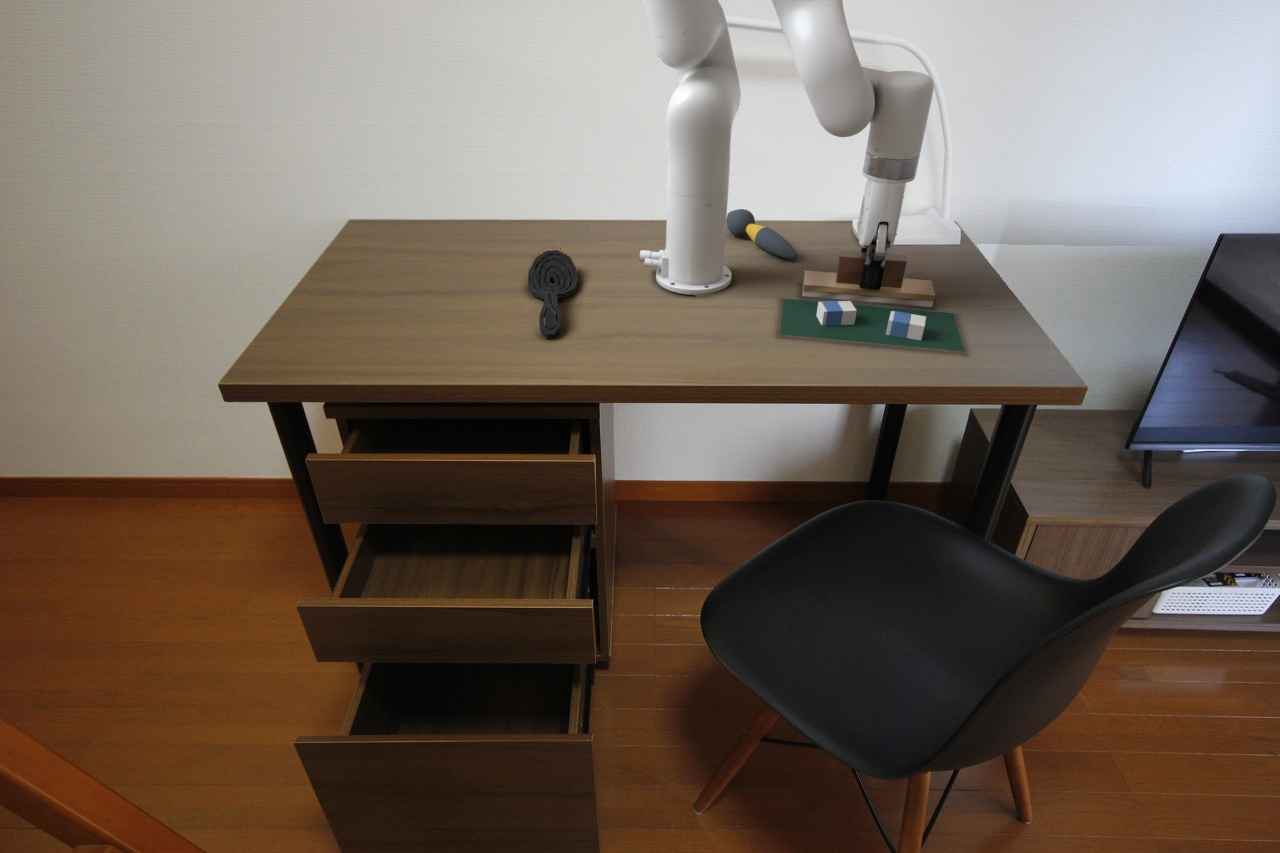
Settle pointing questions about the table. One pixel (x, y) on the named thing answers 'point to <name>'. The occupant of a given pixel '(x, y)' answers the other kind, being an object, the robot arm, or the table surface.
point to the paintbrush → (759, 234)
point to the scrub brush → (848, 289)
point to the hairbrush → (552, 287)
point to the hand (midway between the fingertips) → (868, 279)
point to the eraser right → (906, 325)
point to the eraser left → (836, 313)
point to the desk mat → (870, 326)
